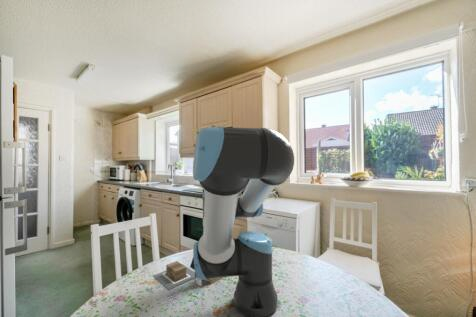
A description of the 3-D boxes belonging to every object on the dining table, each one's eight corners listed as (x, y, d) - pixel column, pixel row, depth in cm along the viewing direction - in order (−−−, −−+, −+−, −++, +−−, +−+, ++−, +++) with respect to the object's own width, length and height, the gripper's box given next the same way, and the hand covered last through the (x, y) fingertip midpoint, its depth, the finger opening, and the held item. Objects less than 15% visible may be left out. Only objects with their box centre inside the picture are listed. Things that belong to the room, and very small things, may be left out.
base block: (186, 276, 91) (186, 267, 91) (175, 281, 88) (175, 271, 88) (176, 269, 97) (176, 261, 97) (166, 274, 94) (166, 264, 94)
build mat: (199, 276, 92) (199, 275, 92) (168, 290, 83) (168, 289, 83) (182, 265, 102) (182, 264, 102) (153, 276, 93) (153, 275, 93)
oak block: (222, 278, 91) (222, 264, 91) (210, 284, 87) (210, 269, 87) (213, 273, 95) (213, 259, 95) (202, 278, 91) (202, 264, 91)
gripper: (227, 219, 102) (228, 264, 102) (181, 231, 85) (181, 286, 85) (238, 222, 97) (239, 270, 97) (191, 236, 80) (191, 294, 80)
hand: (212, 278), depth 91 cm, fingers open, 12 cm apart
